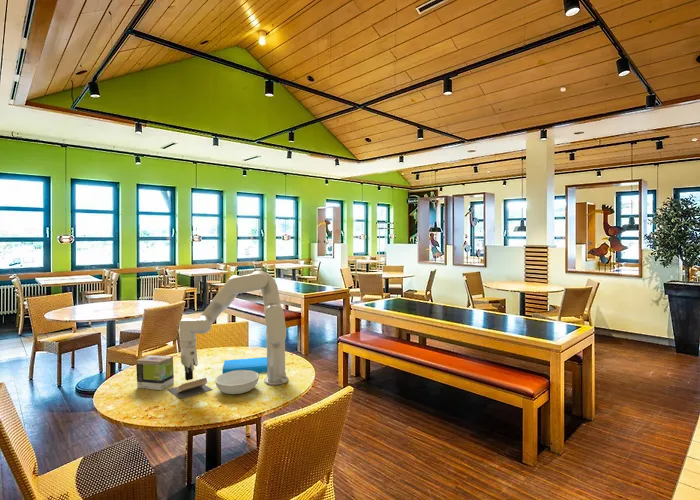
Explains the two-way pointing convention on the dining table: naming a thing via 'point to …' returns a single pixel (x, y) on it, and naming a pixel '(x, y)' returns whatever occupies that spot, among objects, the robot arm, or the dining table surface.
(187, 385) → the brown wooden block
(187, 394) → the mat
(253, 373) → the serving bowl
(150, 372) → the tea box
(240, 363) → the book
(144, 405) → the dining table surface
